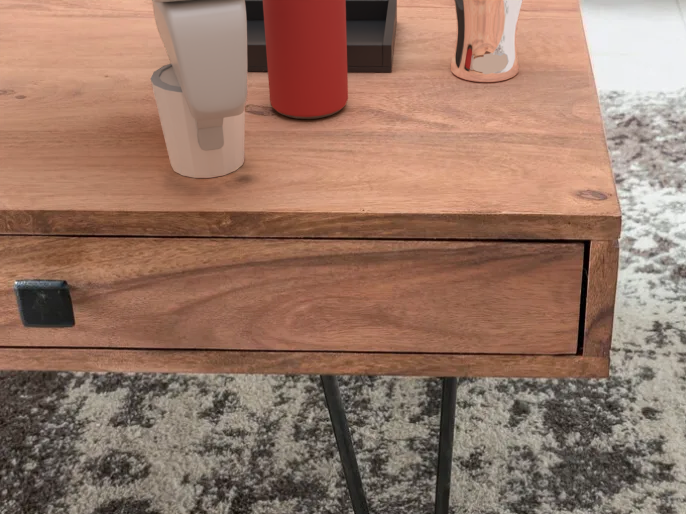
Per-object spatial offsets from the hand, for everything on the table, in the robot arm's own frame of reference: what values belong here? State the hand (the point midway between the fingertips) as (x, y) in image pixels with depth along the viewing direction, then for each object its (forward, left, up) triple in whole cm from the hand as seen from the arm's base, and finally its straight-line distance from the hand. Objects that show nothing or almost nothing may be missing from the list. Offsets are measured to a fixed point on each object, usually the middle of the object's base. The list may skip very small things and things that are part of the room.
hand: (204, 129), depth 79 cm
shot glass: (0, 0, -3) cm, 3 cm away
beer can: (+10, +8, -3) cm, 13 cm away
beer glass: (+27, +11, -3) cm, 29 cm away
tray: (+12, +23, -3) cm, 26 cm away
